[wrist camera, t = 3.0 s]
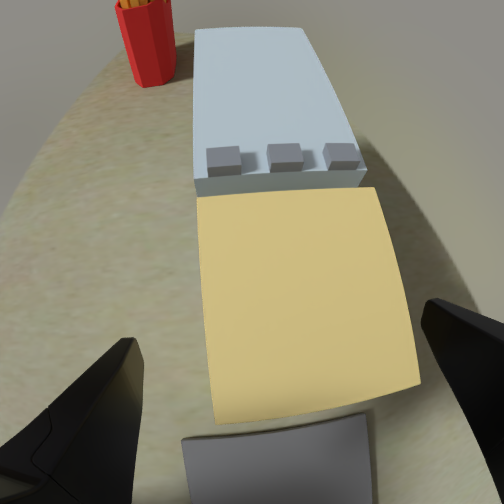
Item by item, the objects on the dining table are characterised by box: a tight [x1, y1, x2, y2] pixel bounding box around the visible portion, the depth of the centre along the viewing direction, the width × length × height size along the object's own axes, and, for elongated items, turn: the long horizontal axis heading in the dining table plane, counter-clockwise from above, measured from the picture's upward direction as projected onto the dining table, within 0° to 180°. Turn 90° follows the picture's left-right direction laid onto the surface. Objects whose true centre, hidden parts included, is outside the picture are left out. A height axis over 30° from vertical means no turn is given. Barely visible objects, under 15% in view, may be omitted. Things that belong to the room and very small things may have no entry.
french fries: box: [115, 0, 177, 88], centre depth 20 cm, size 8×4×12 cm, turn 6°
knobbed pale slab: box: [193, 27, 367, 198], centre depth 14 cm, size 8×4×11 cm, turn 7°
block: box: [197, 187, 421, 425], centre depth 12 cm, size 5×4×11 cm
